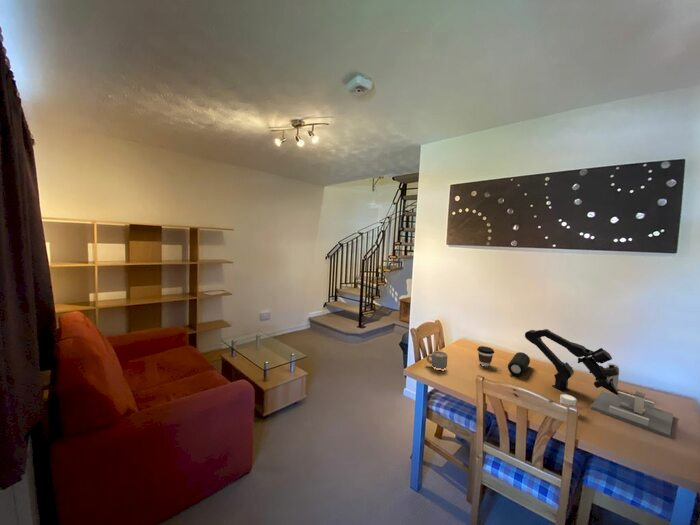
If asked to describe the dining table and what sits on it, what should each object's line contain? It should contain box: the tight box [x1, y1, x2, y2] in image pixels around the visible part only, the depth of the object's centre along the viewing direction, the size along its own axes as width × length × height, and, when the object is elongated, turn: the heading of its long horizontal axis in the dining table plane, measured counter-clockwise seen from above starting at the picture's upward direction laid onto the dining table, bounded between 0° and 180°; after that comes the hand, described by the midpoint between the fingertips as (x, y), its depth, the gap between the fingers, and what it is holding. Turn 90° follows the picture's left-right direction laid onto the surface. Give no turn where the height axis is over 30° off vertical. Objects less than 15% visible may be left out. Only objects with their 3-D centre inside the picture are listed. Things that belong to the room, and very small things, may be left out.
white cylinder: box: [559, 393, 577, 407], centre depth 149 cm, size 7×7×7 cm
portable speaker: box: [507, 351, 531, 377], centre depth 195 cm, size 26×10×10 cm, turn 140°
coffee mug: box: [426, 350, 448, 369], centre depth 196 cm, size 13×10×10 cm
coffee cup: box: [477, 345, 495, 367], centre depth 202 cm, size 11×11×12 cm
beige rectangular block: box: [634, 390, 646, 414], centre depth 146 cm, size 3×5×9 cm, turn 129°
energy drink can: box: [605, 362, 620, 391], centre depth 173 cm, size 6×6×15 cm
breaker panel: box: [590, 390, 674, 439], centre depth 149 cm, size 28×27×4 cm
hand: (617, 394), depth 153 cm, fingers closed
